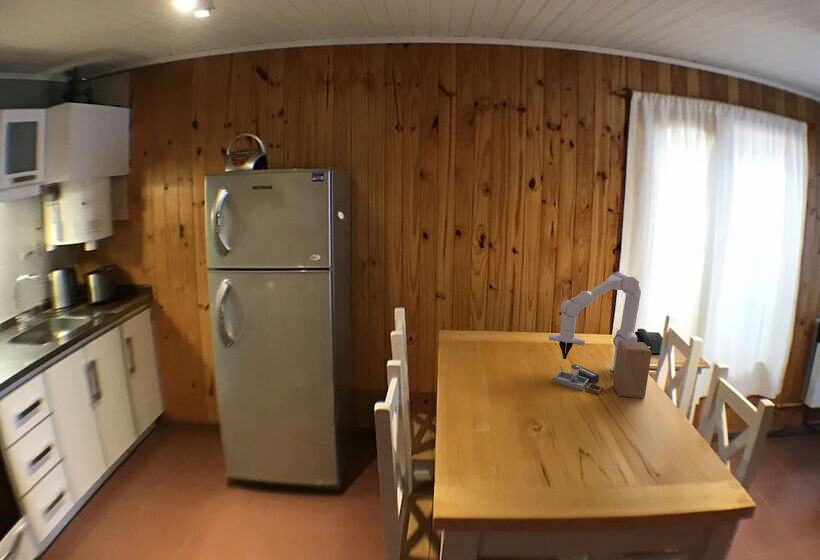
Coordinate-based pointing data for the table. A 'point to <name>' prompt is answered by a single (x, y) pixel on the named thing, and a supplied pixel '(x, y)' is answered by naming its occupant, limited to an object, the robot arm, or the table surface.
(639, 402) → the table surface
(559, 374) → the tray
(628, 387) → the wooden block
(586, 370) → the block
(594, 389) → the collar
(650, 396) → the table surface
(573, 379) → the pin
